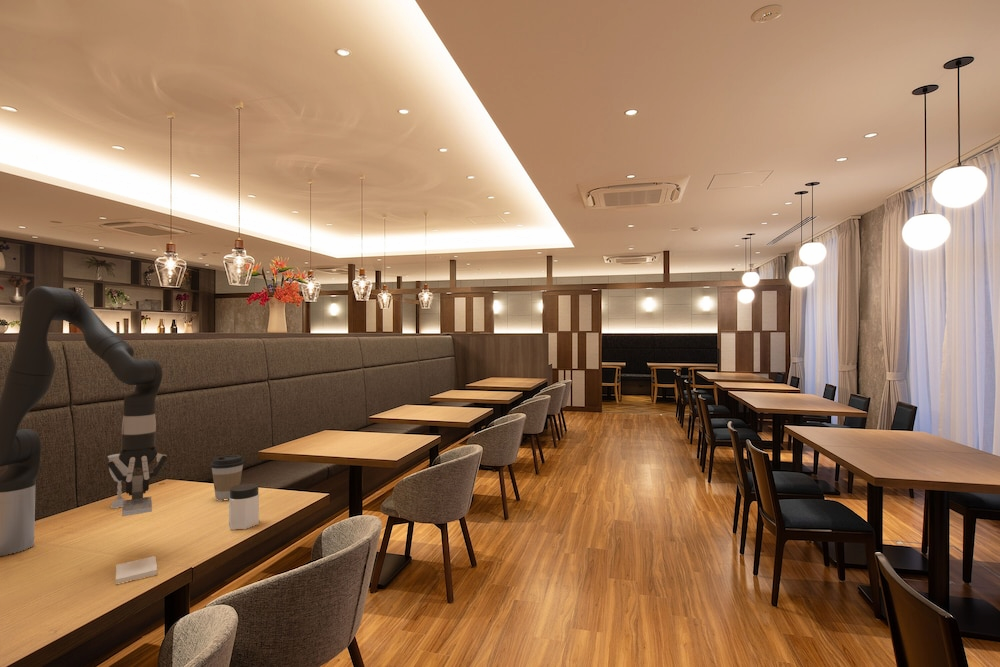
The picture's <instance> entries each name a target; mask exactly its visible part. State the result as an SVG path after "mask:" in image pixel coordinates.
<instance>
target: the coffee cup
mask: <svg viewBox="0 0 1000 667" xmlns="http://www.w3.org/2000/svg"><path fill="white" fill-rule="evenodd" d="M244 464H245V459H243V457H242V456H241V455H240V454H235V455H234V454H230V455H229V454H228V455H220V456H217V457H214V458H213V460H212V462H211V463H210V466H209V468H210V469H211V472H212V481H213V487H214V495H215V499H218V500H224V499H229V496H230V488H232V487H234V486H237V485H241V482H242V474H243V468H244V467H243V466H244ZM218 500H217V501H218Z"/></svg>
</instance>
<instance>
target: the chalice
mask: <svg viewBox="0 0 1000 667" xmlns="http://www.w3.org/2000/svg"><path fill="white" fill-rule="evenodd" d="M119 455H120V453H115V454H109V455H107V458H108V462H109V461H110V460H114V459H116V458H118V457H119ZM118 468H119V470H120V471H121V473H122V474H123V475H125V476H127V471H128V468H127V467H126V466H125V465H124V464H123V463H122V462H121V461H119V466H118ZM108 471H109V473H110V475H111V477H112V479H113V481H114V482H117V486H116V488H117V492H116V493H115V494H117V497H116V499H114V500H113V501H112V503H111V505H110V509H119V507H121V508H123V501H124V500H127V499H125V498H123V497H122V493H123V491H122V488H123V485H122V482H123V481H119V480H118V479H117V478H116V476H115V475H114V473H113V472H112V470H111V469H110V467H109V466H108Z"/></svg>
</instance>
